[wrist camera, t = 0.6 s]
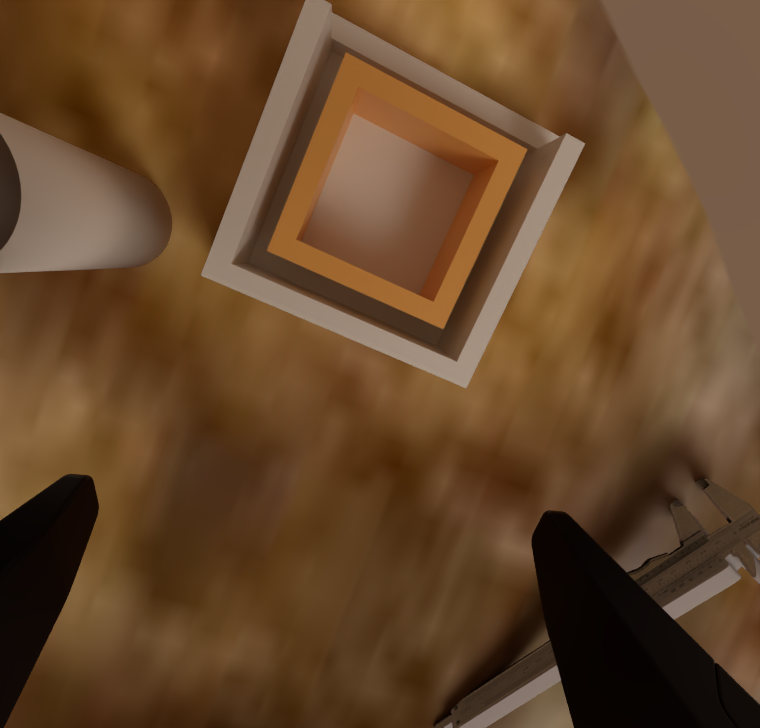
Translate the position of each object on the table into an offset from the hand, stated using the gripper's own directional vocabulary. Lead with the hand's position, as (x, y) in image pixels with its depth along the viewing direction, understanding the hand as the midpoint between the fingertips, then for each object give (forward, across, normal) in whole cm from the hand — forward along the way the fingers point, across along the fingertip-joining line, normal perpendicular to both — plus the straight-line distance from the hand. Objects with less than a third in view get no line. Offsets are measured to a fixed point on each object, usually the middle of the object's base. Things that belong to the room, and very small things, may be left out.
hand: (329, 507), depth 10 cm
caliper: (+8, -15, +16) cm, 24 cm away
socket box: (+15, -2, -2) cm, 15 cm away
